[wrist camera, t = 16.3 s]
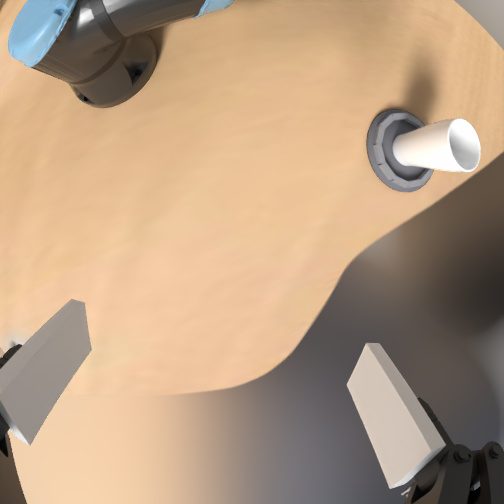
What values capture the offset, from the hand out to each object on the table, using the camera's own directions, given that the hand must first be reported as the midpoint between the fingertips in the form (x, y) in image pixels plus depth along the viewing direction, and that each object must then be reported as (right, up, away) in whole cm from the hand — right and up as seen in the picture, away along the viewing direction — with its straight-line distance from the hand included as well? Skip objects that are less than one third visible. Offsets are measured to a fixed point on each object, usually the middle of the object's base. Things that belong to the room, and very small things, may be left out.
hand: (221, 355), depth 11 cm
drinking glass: (+26, +21, +26) cm, 42 cm away
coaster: (+26, +21, +26) cm, 43 cm away
